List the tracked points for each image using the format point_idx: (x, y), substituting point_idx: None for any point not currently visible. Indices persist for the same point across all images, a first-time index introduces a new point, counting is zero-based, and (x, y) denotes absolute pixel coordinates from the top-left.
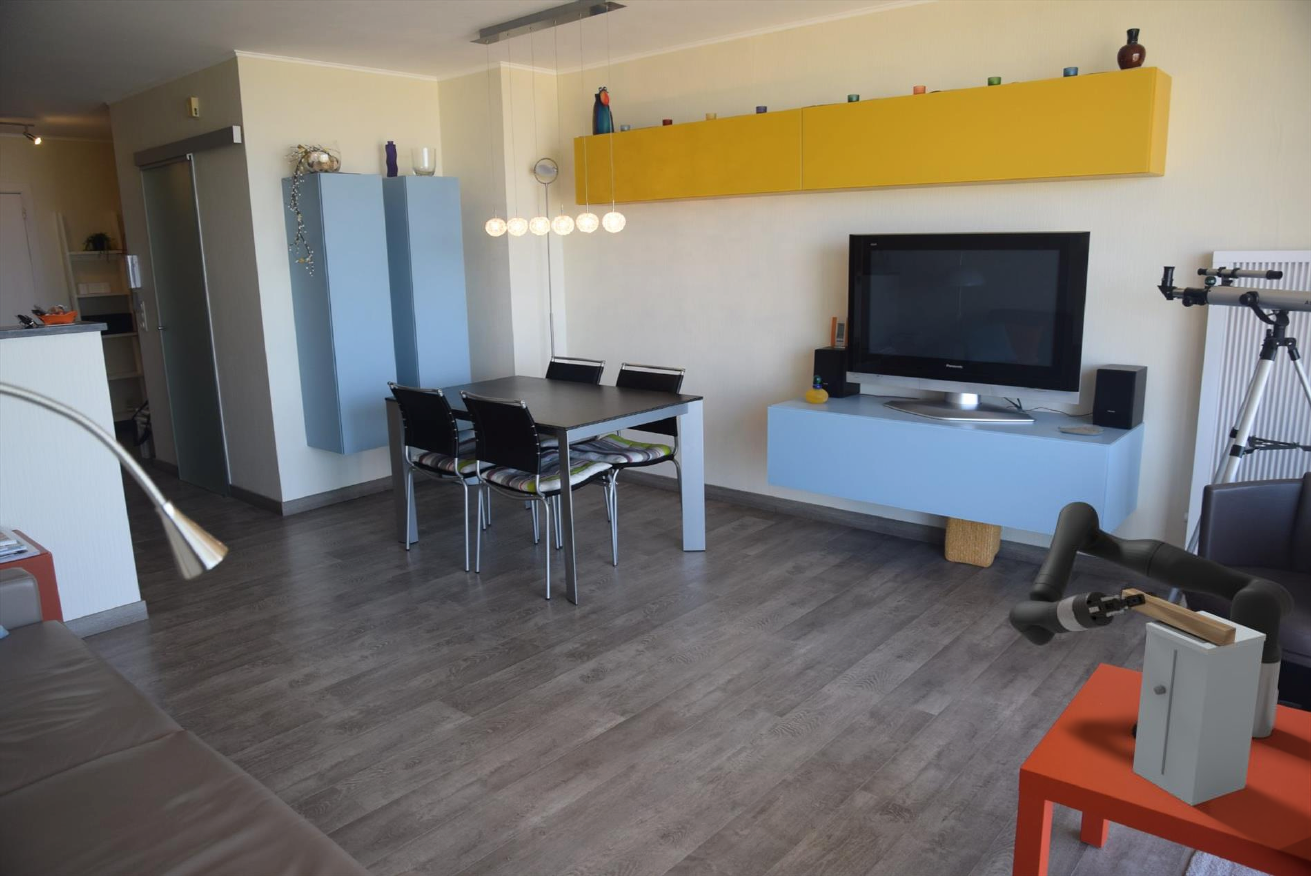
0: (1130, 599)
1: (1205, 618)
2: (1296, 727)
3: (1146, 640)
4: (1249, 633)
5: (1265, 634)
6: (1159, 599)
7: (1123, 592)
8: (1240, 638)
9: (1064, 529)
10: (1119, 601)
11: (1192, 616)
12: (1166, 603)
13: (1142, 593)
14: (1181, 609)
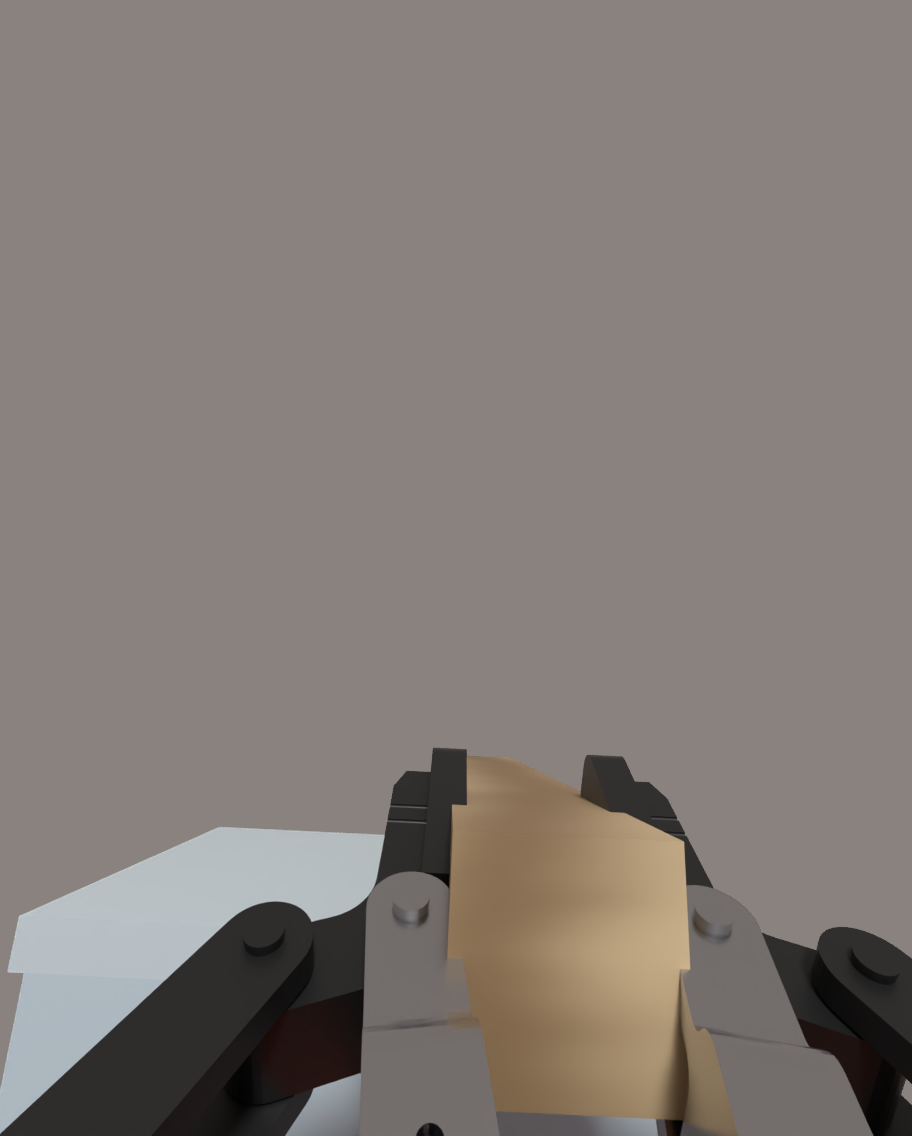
0: (687, 857)
1: (475, 762)
2: None
3: (655, 1122)
4: (259, 835)
5: (219, 827)
6: (472, 785)
7: (676, 867)
8: (347, 837)
9: None
10: (798, 960)
11: (513, 766)
12: (490, 780)
13: (588, 755)
14: (485, 771)
